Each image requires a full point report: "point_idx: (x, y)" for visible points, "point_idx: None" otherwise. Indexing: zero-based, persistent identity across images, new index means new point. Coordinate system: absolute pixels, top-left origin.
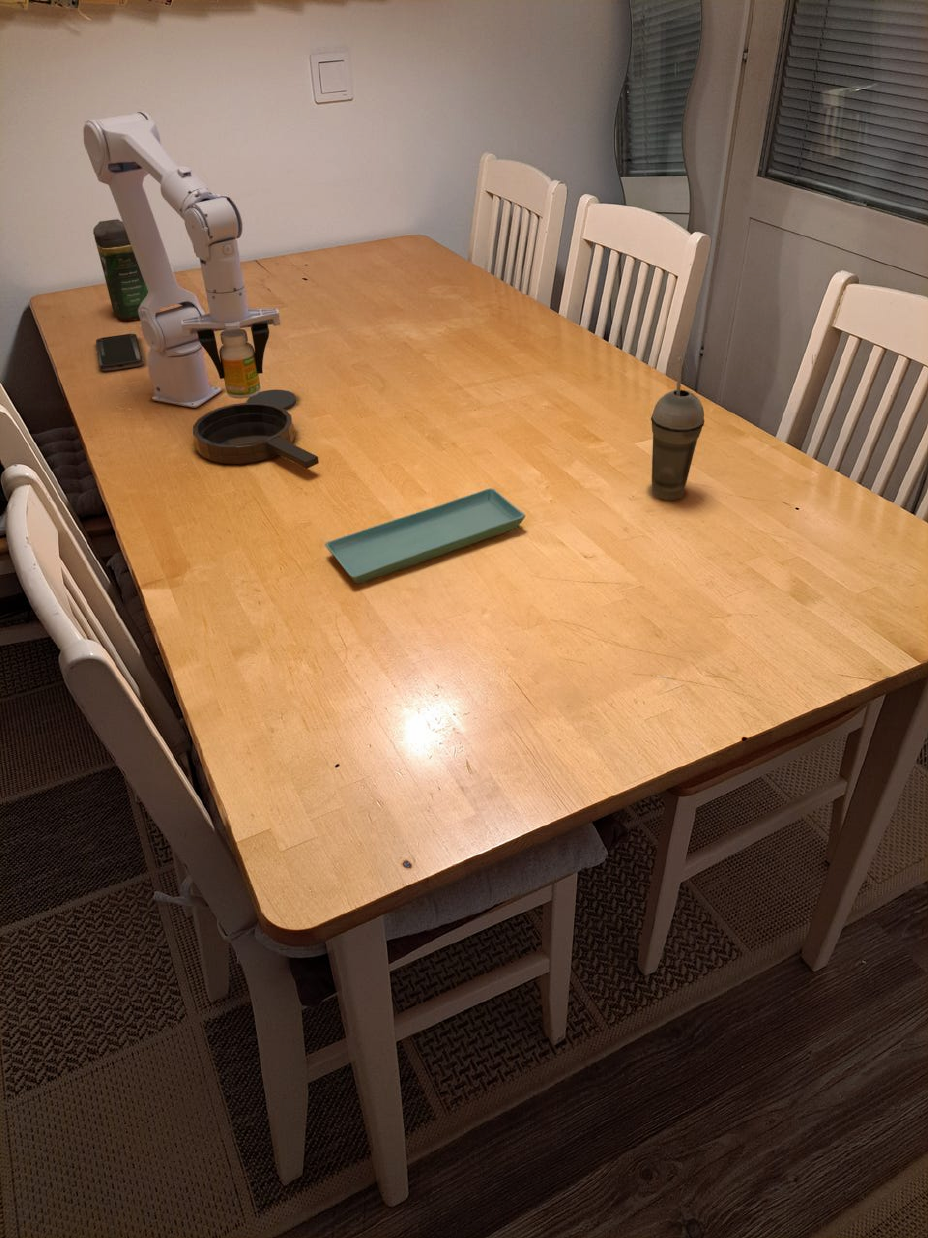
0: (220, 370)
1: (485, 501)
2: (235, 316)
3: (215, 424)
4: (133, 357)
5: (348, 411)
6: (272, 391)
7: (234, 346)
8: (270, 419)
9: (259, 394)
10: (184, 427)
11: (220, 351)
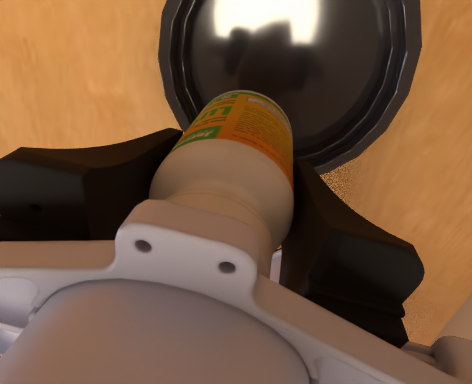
0: (307, 169)
1: None
2: (112, 330)
3: (314, 151)
4: None
5: (53, 85)
6: None
7: (228, 196)
8: None
9: None
10: (355, 191)
11: (288, 224)
